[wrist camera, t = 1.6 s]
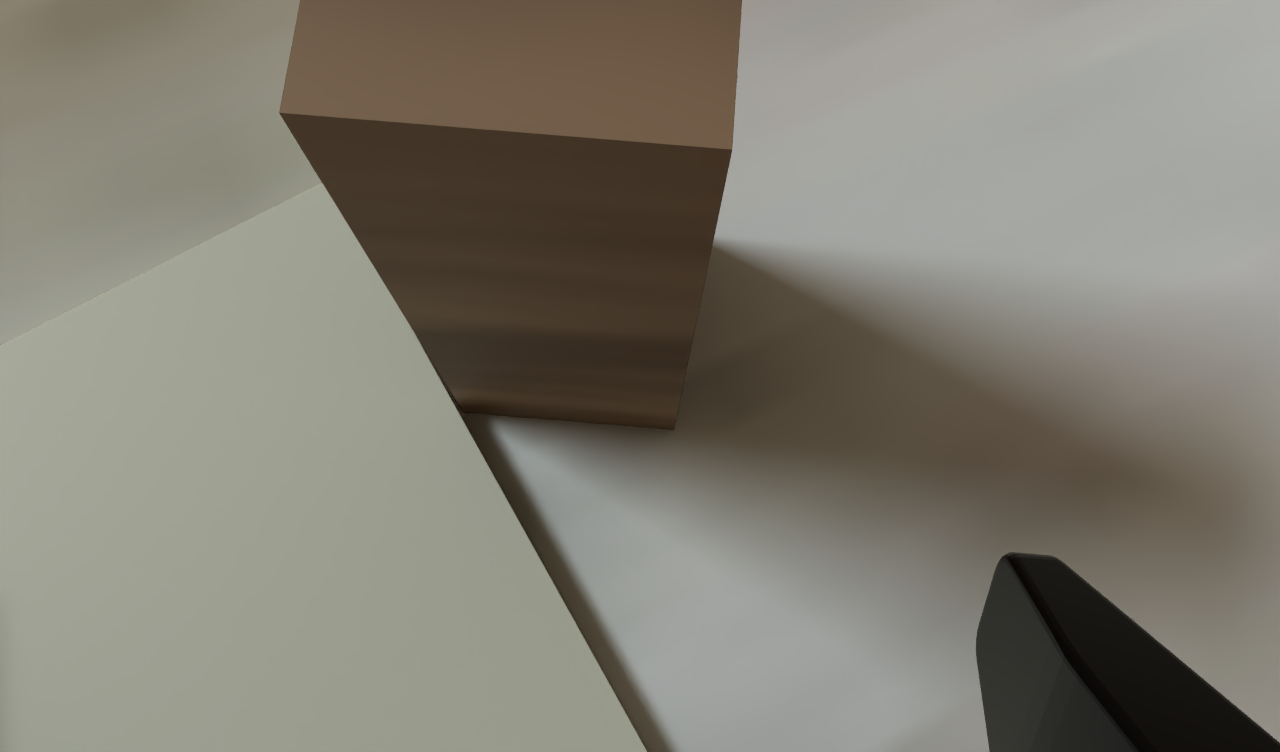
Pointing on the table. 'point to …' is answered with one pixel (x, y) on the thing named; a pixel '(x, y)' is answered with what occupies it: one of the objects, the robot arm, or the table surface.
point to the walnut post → (529, 184)
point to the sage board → (268, 525)
